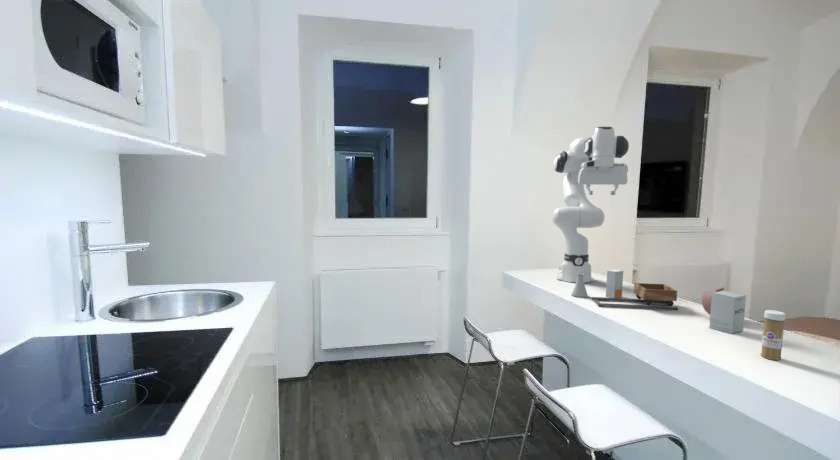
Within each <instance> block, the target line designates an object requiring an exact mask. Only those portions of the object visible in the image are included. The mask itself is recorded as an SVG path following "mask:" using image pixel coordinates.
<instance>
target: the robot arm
mask: <svg viewBox="0 0 840 460" xmlns="http://www.w3.org/2000/svg"><path fill="white" fill-rule="evenodd" d="M629 147H630V146H629V140H628V139H627V138H626V137H625V136H623V135H615V129H614V128H613V127H612V126H598V127H597V126H596V127H595V129H594V133H593V134H592V136H590V137H585V136H583V137H578V138H576V139H574V140H573V141H571V143H570V145H569V148H568V151H565V150H563V151H562V152H560V153H558V154H557V155H556V156H555V158H554V160H553V168H554V171H555V172H556V173H561V174H563V173H564V174H566V175H564V177H563V179H562V193H563V200H564V203H565V205H566V206H561V207H557V208H555V209H554V210H553V213H552V217H551V218H552V222H553V224H554V225H555V226H556V227H558V229H560V231H561V232H562V234H563V235H564V238H565V239H564V240H565V241H564V242H565V253H564V255H563V259H564V260H563V262H562V263H561V265H560V266H558V271H559V273H557V276H556V277H557V278H556V279H557V280H559V281H563V282H568V283H576V282H577V274H579V273H580V274H584V276H583V281H584V284H585V283H591V282H595V278H593V277H592V265H591V264H590V263H589V259H590V257H589V240H588V238H587V237H586V236H585V235H583V234H581V233H579V232H578V228H583V229H584V228H585V229H590V228H593V229H594V228H597V227H598V228H599V227H601V226H602V225H603V224H604V222H605V213H604V211H603V210H602V208H600V207H598V206H596V205H595V204H593V203H592V202H590V200H589V199H588V198H587V195H588V196H593V195H594V190H591V185H609V186H610V185H613V190H611V191H610V195H611V196H616V192H617V190H618V188H619V185H623V186H625V185H627V183H628V171H629V166H628V165H627V164H625V163H623V162H622V163H615V158H616V159H621V158H623V157H624V156H626V154H628V152H629ZM584 185H585V187H584ZM585 188H586V189H587V192H588V193H587V195H586V192H585V191H586V190H585Z"/></svg>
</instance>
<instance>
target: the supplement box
mask: <svg viewBox="0 0 840 460" xmlns="http://www.w3.org/2000/svg"><path fill="white" fill-rule="evenodd" d="M714 292H715V291H714ZM746 298H747V295H746V294H742V293H736V292H733V291H731V292H730V291H726V290H722V291H720V292H715V293H712V300H711V313H710V314H709V316H710V317H709V327H708V328H710V329H712V330H715V331H719V332H722V333H723V332H724V333H726V334H731V335H732V334H735V333H738V332H742V331H744V323H745V322H744V321H745V312H746V300H747V299H746Z"/></svg>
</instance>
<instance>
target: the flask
mask: <svg viewBox="0 0 840 460" xmlns="http://www.w3.org/2000/svg"><path fill="white" fill-rule="evenodd" d="M583 276H584V274H580V273H579V274H577V282H575V284H574V287H573V290H572V292H571V296H573V297H575V298H588V297H589V296H588V292H587V289H586V285H585V283H584V281H583Z"/></svg>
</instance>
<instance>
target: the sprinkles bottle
mask: <svg viewBox="0 0 840 460" xmlns="http://www.w3.org/2000/svg"><path fill="white" fill-rule="evenodd" d="M763 314H764V315H763V318H764V321H763V322H764V324H763V334H762V340H761V341H762V342H761V352H760V356H761V357H763V358H764V359H767V360H771V361H780V360H782V350H783V349H782V348H783V341H784V340H783V339H784V326H785V320H786V313H785V312H783V311H779V310H774V309H766V310H765V311H764V313H763Z"/></svg>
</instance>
